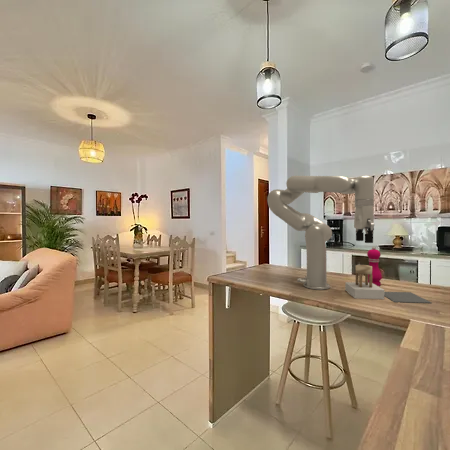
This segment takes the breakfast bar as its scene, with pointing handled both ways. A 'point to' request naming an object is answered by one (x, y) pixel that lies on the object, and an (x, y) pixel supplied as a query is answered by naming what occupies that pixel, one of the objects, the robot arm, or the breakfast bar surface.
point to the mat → (405, 297)
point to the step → (364, 291)
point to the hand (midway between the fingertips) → (364, 241)
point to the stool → (364, 270)
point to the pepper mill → (374, 265)
